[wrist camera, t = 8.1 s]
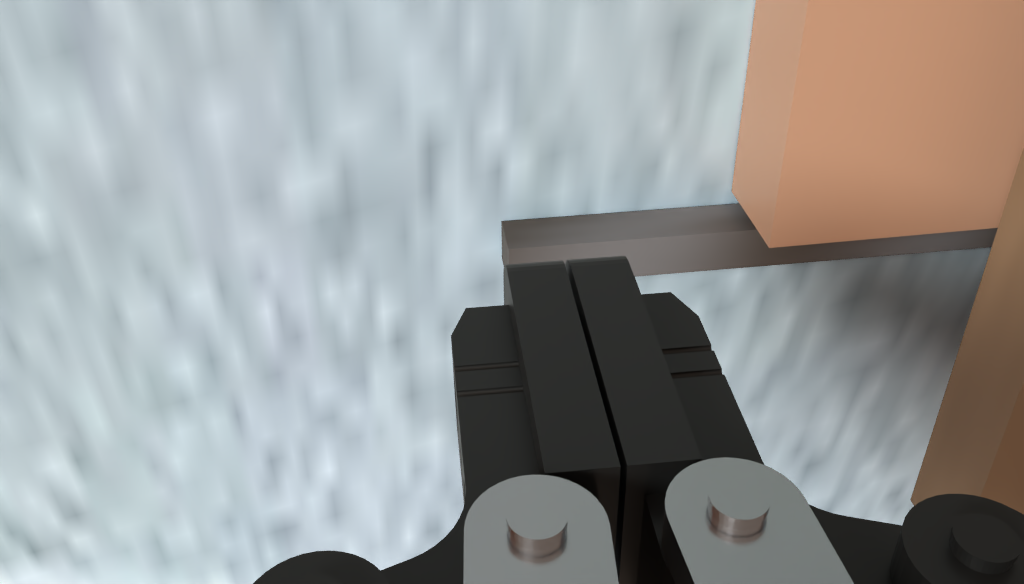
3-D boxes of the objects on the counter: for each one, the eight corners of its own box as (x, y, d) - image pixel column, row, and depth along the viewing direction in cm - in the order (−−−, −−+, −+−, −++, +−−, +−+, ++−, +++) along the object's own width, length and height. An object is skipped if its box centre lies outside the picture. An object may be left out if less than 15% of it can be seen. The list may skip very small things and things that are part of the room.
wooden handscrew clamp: (1464, -609, 16) (2014, -717, 11) (1072, 355, 27) (1246, 532, 22) (489, -627, 14) (573, -767, 9) (504, 409, 26) (544, 616, 20)
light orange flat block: (1157, -149, 20) (1251, -121, 18) (1053, 164, 24) (1119, 216, 22) (772, -131, 19) (824, -99, 17) (731, 191, 23) (769, 248, 21)
